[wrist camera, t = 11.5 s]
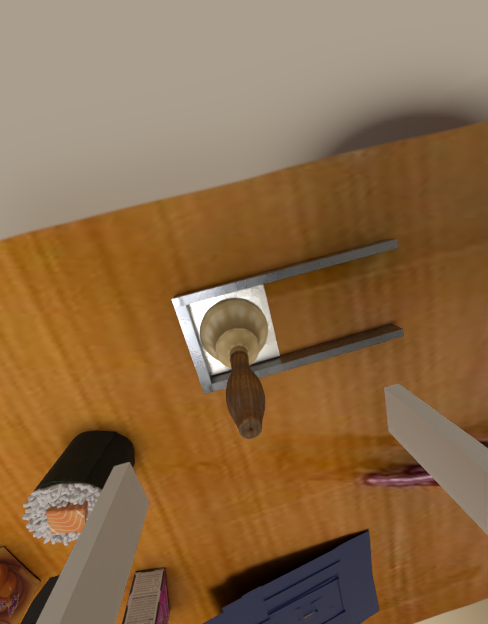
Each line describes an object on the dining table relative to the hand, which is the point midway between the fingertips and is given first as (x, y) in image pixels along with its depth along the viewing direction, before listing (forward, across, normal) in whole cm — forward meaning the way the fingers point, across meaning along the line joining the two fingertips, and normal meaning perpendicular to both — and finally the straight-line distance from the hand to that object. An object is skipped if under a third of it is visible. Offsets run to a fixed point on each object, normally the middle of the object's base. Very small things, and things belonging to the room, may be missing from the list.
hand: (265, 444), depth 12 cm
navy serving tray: (+18, +2, +53) cm, 56 cm away
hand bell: (+17, 0, 0) cm, 17 cm away
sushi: (+17, +22, +12) cm, 30 cm away
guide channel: (+17, -7, 0) cm, 19 cm away
